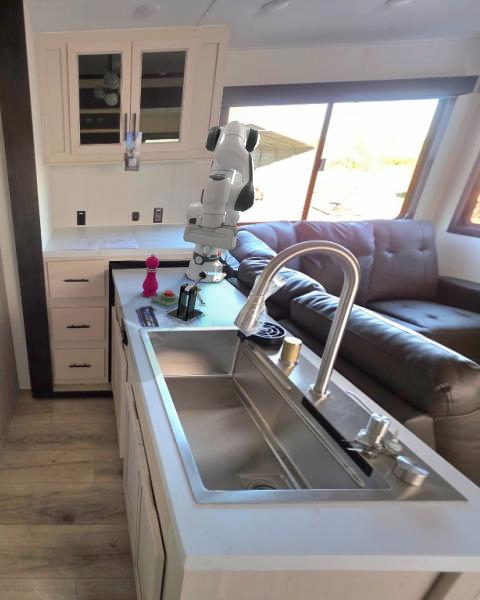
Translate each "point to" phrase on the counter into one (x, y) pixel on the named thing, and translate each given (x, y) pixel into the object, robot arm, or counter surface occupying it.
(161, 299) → the button box
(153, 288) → the pepper mill
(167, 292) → the button
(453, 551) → the counter surface
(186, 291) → the lever
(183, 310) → the bracket
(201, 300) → the soupspoon
